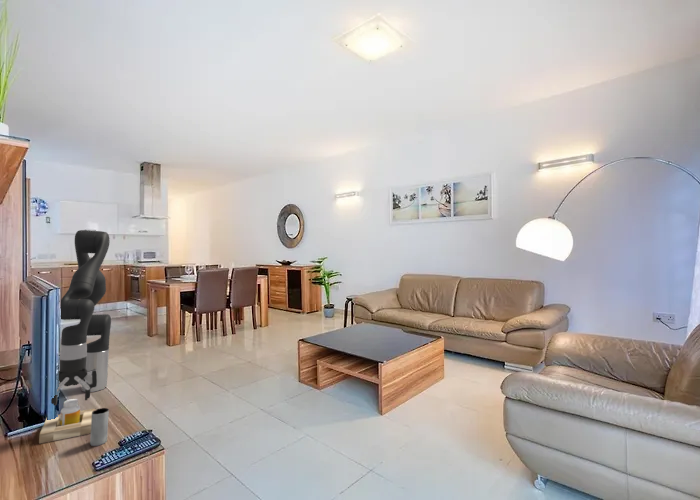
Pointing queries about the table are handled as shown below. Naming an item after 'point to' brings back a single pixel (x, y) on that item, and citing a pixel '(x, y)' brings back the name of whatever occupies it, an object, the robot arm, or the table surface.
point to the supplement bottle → (70, 412)
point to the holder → (66, 428)
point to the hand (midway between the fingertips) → (71, 402)
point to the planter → (99, 426)
